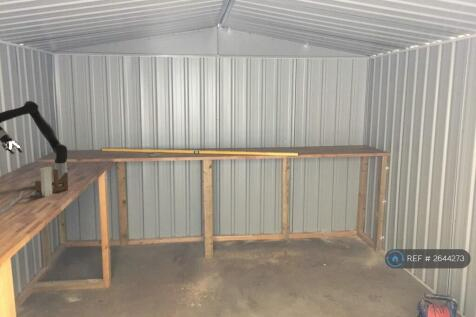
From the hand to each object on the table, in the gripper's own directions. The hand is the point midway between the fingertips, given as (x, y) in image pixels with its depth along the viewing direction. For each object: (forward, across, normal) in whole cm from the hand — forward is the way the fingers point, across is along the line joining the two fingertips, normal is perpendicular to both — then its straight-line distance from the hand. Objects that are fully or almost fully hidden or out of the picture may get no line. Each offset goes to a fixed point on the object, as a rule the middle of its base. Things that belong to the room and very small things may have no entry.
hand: (17, 152), depth 320 cm
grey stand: (+37, -3, +6) cm, 38 cm away
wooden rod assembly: (+41, +13, +3) cm, 43 cm away
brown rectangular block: (+36, -3, +6) cm, 37 cm away
